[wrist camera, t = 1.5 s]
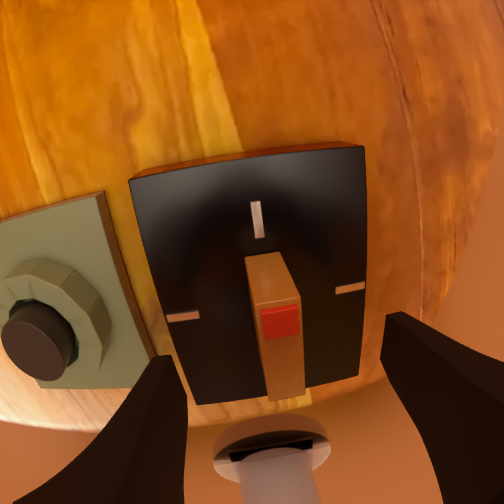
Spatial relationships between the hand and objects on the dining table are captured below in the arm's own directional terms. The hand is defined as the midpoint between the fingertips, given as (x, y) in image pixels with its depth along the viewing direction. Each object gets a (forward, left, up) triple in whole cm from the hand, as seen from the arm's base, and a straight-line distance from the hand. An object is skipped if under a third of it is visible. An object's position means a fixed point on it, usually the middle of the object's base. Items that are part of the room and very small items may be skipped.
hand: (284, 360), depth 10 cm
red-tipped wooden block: (0, 0, -4) cm, 4 cm away
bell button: (0, +11, -4) cm, 12 cm away
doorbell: (0, +11, -6) cm, 13 cm away
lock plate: (0, 0, -6) cm, 6 cm away
